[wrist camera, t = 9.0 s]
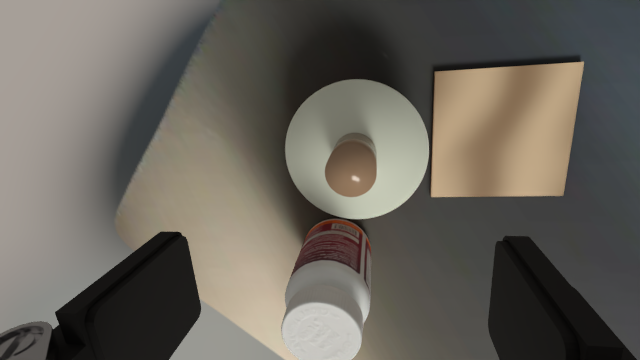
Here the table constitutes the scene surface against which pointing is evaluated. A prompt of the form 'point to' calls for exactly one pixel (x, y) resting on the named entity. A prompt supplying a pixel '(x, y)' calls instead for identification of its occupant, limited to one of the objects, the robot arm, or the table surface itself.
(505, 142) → the mat
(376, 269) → the table surface
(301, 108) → the lid
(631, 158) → the table surface
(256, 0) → the table surface
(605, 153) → the table surface
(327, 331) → the pill bottle
